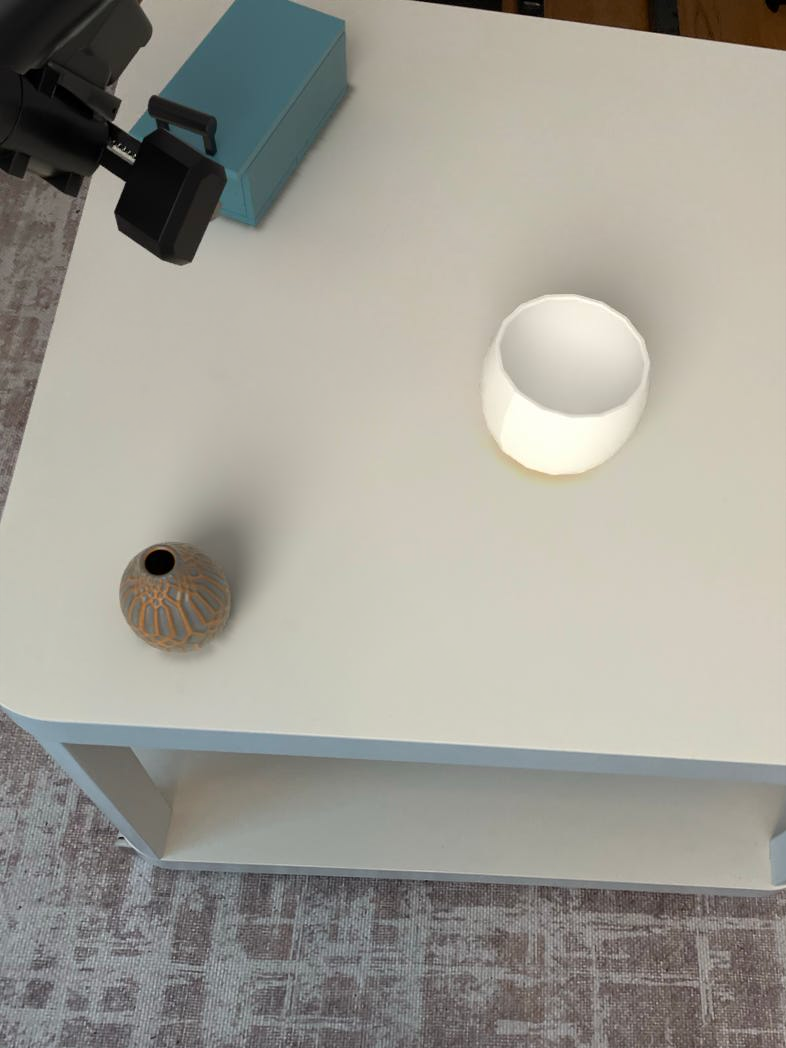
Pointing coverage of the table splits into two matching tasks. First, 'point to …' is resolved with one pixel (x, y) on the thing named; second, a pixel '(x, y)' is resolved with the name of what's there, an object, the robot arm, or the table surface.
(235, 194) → the teal rectangular box
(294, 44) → the lid
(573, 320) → the cup
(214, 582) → the vase
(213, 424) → the table surface
